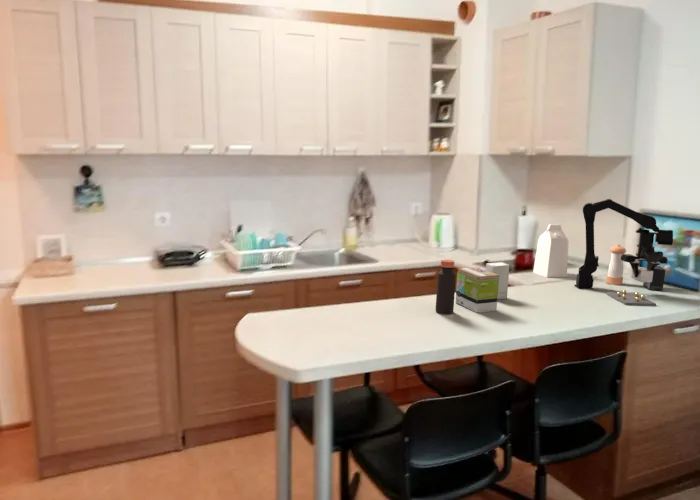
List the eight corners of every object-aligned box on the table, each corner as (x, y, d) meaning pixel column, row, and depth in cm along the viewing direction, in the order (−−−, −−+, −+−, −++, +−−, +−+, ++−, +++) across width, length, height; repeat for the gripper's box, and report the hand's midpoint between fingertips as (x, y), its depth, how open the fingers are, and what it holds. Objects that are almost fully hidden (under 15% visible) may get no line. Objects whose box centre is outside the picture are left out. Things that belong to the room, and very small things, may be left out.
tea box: (454, 303, 241) (456, 267, 239) (474, 301, 245) (477, 266, 243) (476, 313, 228) (478, 275, 225) (497, 311, 232) (500, 274, 229)
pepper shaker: (606, 283, 288) (610, 245, 285) (605, 281, 295) (610, 243, 292) (622, 285, 286) (627, 246, 282) (622, 282, 292) (626, 244, 289)
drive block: (640, 281, 264) (642, 270, 263) (631, 277, 273) (632, 266, 272) (651, 282, 264) (653, 271, 263) (642, 277, 273) (643, 267, 272)
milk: (552, 271, 313) (557, 222, 309) (566, 276, 303) (571, 225, 298) (533, 272, 310) (537, 223, 305) (546, 277, 299) (551, 226, 294)
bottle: (449, 315, 223) (452, 263, 219) (432, 312, 226) (435, 260, 223) (456, 311, 229) (459, 260, 225) (439, 308, 232) (442, 258, 229)
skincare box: (499, 295, 257) (502, 261, 254) (507, 299, 251) (510, 264, 249) (482, 296, 254) (485, 262, 251) (490, 300, 248) (493, 265, 246)
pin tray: (625, 304, 249) (625, 298, 248) (606, 294, 266) (607, 288, 266) (655, 305, 249) (656, 299, 248) (635, 295, 267) (635, 289, 266)
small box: (663, 291, 277) (666, 269, 275) (648, 290, 278) (651, 268, 276) (656, 286, 287) (659, 265, 285) (642, 285, 289) (645, 264, 287)
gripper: (634, 245, 258) (629, 280, 260) (676, 247, 258) (671, 282, 261) (622, 241, 269) (618, 275, 271) (662, 243, 269) (658, 276, 272)
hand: (641, 277), depth 268 cm, fingers closed on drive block, 5 cm apart
